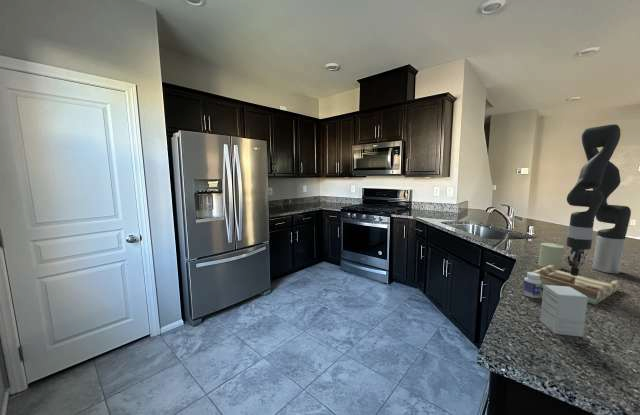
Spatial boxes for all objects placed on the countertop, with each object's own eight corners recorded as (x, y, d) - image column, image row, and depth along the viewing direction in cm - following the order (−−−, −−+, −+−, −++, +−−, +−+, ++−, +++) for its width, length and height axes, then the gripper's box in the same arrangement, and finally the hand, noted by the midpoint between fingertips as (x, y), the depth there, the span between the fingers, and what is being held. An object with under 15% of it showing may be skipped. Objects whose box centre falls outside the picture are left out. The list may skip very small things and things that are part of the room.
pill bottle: (536, 299, 97) (539, 277, 96) (520, 294, 101) (522, 272, 100) (541, 296, 100) (544, 274, 99) (525, 291, 104) (528, 270, 103)
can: (566, 270, 127) (569, 247, 126) (545, 268, 129) (548, 246, 128) (553, 264, 136) (556, 242, 135) (534, 262, 138) (536, 241, 137)
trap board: (550, 272, 125) (552, 262, 124) (617, 289, 105) (619, 278, 105) (525, 282, 112) (526, 271, 112) (595, 304, 93) (597, 291, 92)
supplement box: (565, 323, 81) (570, 286, 80) (583, 337, 74) (589, 297, 72) (538, 320, 83) (543, 283, 81) (553, 334, 76) (559, 294, 74)
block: (555, 280, 109) (556, 272, 109) (574, 286, 104) (575, 277, 104) (549, 283, 107) (550, 274, 106) (568, 289, 101) (569, 279, 101)
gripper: (573, 233, 114) (569, 269, 116) (561, 236, 108) (556, 275, 110) (597, 236, 107) (592, 275, 110) (586, 240, 101) (580, 281, 103)
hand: (574, 275), depth 110 cm, fingers closed
